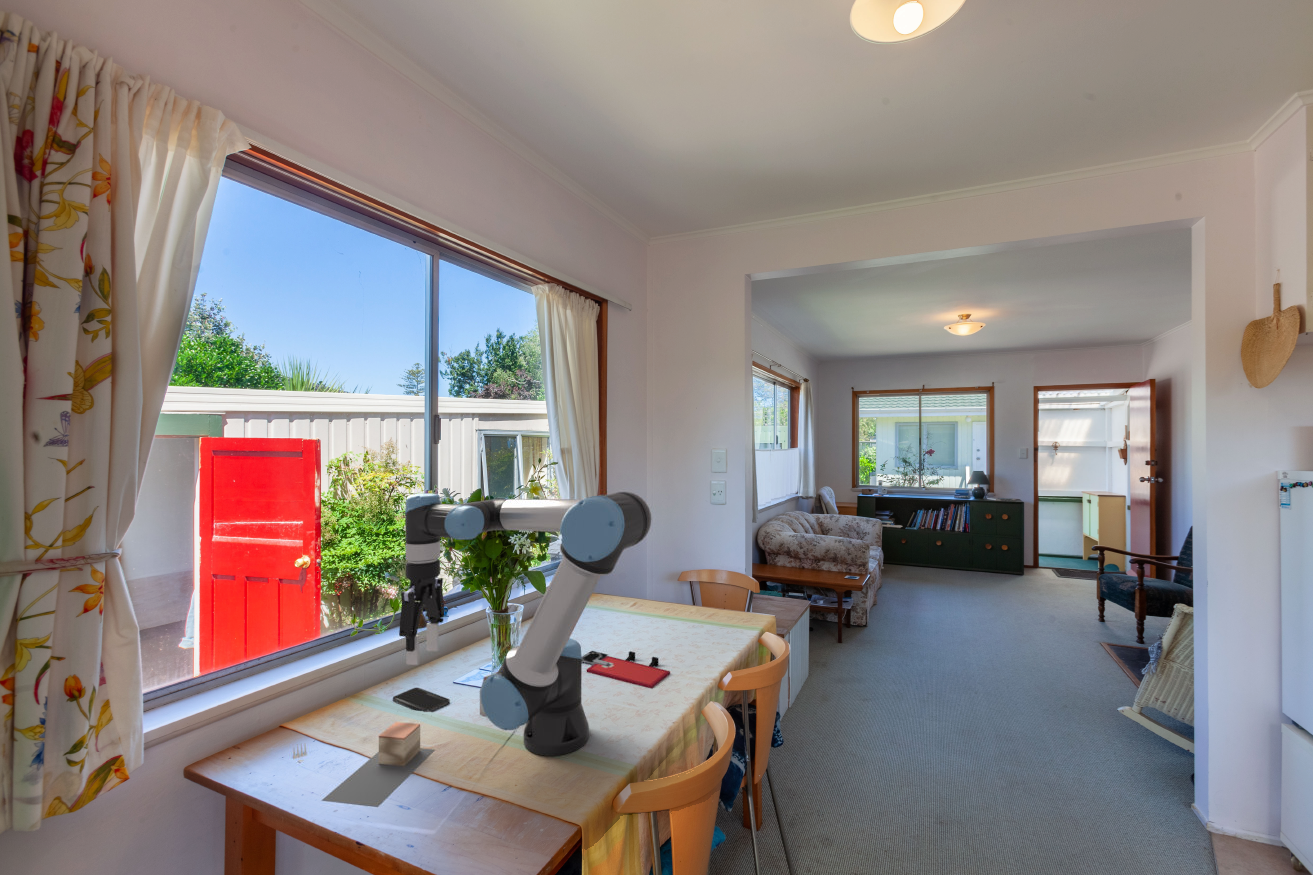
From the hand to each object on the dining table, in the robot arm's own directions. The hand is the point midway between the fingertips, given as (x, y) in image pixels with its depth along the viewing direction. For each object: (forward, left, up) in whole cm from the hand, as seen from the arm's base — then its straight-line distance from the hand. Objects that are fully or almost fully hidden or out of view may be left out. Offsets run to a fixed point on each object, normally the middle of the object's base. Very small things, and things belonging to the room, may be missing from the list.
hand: (422, 656), depth 134 cm
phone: (+11, -17, -20) cm, 28 cm away
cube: (0, +9, -19) cm, 21 cm away
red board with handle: (-37, -47, -20) cm, 63 cm away
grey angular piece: (-11, -15, -19) cm, 27 cm away
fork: (+19, +15, -20) cm, 31 cm away
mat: (0, +15, -19) cm, 24 cm away
